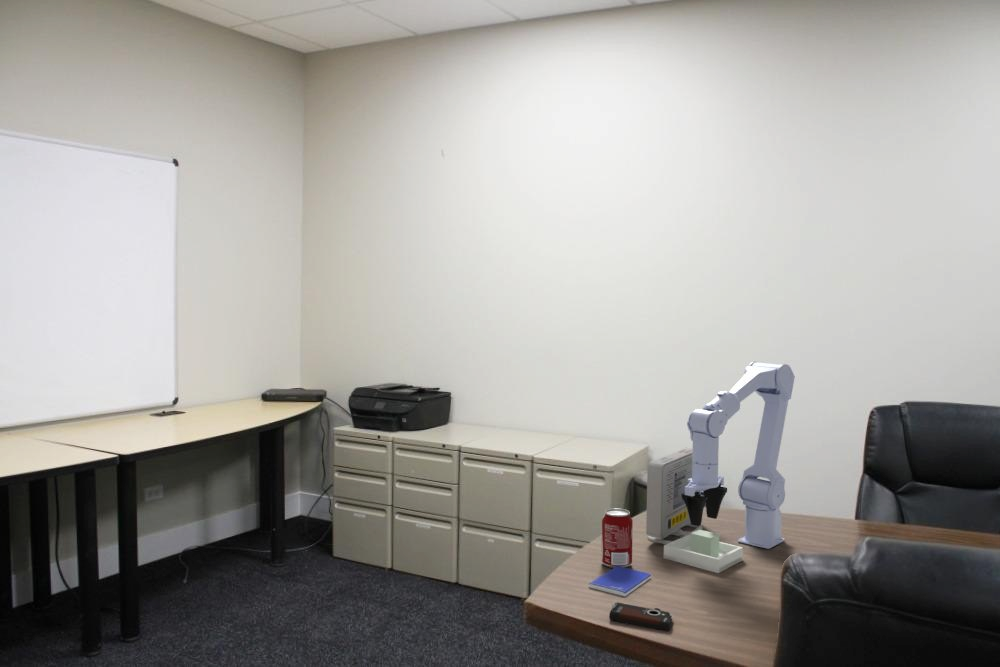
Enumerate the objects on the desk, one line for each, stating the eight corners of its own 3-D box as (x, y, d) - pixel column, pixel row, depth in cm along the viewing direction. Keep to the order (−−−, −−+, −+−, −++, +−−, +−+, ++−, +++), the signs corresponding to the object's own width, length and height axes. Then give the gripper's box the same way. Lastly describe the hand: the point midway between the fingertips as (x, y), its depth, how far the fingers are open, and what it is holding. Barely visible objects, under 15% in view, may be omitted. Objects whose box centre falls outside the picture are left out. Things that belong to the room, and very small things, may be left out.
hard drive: (625, 591, 153) (650, 573, 163) (588, 582, 158) (616, 565, 168) (624, 599, 153) (650, 580, 163) (588, 589, 158) (616, 572, 168)
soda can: (631, 571, 167) (632, 516, 167) (600, 569, 168) (601, 515, 168) (632, 560, 174) (632, 508, 173) (602, 558, 175) (602, 507, 175)
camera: (618, 597, 147) (676, 608, 143) (617, 612, 147) (675, 623, 143) (609, 606, 142) (669, 618, 137) (608, 622, 142) (668, 634, 137)
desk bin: (689, 546, 184) (689, 534, 184) (742, 560, 175) (742, 547, 175) (663, 558, 176) (663, 545, 176) (718, 573, 167) (718, 559, 166)
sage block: (699, 550, 178) (699, 529, 178) (718, 555, 175) (719, 534, 175) (690, 554, 175) (690, 533, 175) (710, 560, 172) (710, 538, 172)
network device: (678, 518, 208) (680, 445, 207) (710, 524, 202) (712, 449, 201) (637, 543, 187) (638, 461, 186) (671, 550, 182) (672, 466, 181)
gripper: (704, 455, 182) (703, 511, 183) (673, 464, 172) (671, 524, 173) (732, 459, 178) (731, 517, 178) (701, 469, 167) (700, 531, 168)
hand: (704, 521), depth 175 cm, fingers open, 7 cm apart
